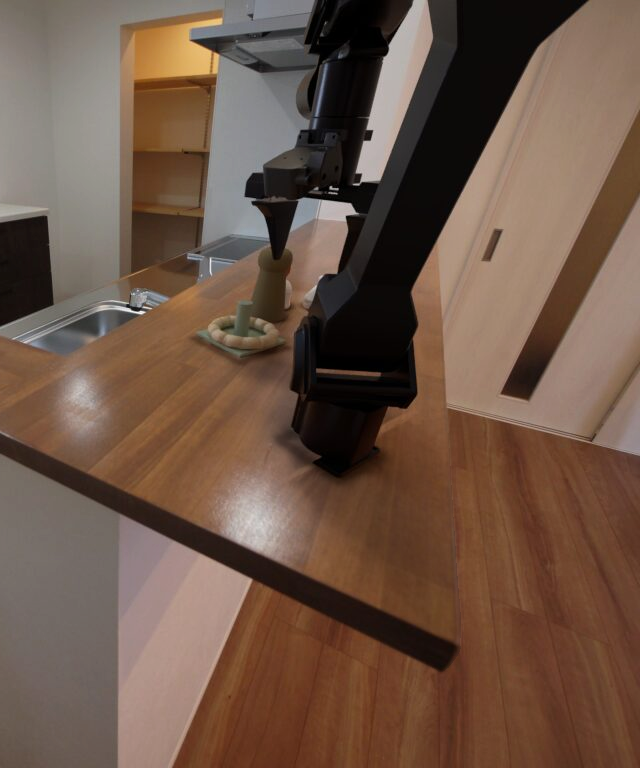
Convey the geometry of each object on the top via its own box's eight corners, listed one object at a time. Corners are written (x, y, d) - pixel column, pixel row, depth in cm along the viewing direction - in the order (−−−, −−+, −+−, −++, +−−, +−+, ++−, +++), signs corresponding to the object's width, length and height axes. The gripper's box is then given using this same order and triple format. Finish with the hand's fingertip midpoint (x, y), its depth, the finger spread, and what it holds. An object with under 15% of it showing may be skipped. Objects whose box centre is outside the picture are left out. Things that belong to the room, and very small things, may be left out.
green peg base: (285, 347, 60) (293, 306, 57) (239, 362, 56) (245, 318, 53) (239, 326, 67) (245, 288, 64) (195, 339, 63) (198, 298, 60)
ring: (291, 341, 60) (294, 330, 59) (242, 357, 55) (243, 346, 54) (241, 319, 67) (243, 309, 66) (194, 332, 62) (195, 321, 61)
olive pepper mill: (286, 323, 69) (300, 253, 63) (247, 320, 70) (258, 251, 64) (282, 310, 74) (295, 244, 68) (246, 307, 75) (256, 242, 69)
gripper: (219, 118, 47) (206, 260, 55) (385, 112, 34) (335, 300, 42) (285, 121, 53) (264, 250, 61) (450, 116, 39) (396, 283, 47)
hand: (306, 267), depth 52 cm, fingers open, 9 cm apart
